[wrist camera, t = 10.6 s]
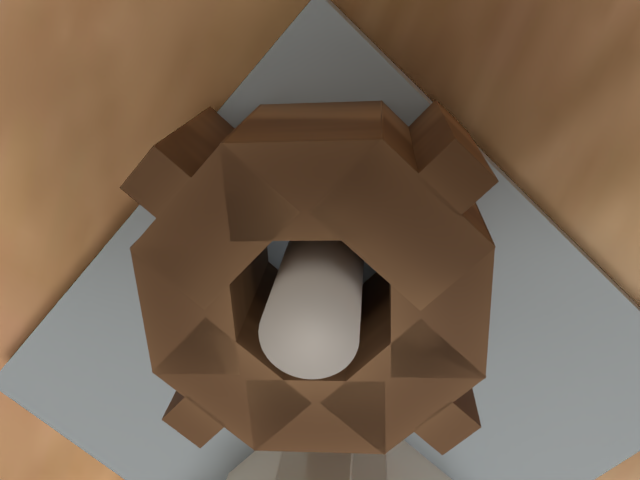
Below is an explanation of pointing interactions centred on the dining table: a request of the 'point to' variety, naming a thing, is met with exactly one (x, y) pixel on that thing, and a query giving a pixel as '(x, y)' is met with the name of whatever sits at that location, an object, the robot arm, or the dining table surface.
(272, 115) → the walnut gear
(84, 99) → the dining table surface
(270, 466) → the gear
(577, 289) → the gear board
